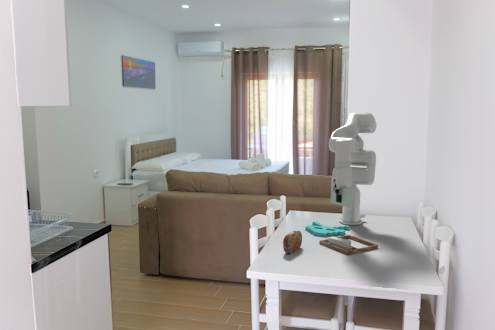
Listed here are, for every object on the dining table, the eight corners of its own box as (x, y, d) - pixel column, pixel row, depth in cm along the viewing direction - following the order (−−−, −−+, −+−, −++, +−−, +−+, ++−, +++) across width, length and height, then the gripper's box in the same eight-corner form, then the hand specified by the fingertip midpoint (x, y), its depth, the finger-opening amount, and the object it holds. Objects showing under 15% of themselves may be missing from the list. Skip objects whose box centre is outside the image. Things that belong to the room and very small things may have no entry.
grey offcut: (331, 241, 205) (331, 236, 204) (350, 245, 198) (351, 240, 198) (328, 242, 203) (328, 237, 202) (347, 247, 196) (347, 242, 196)
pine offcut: (333, 244, 206) (333, 240, 206) (352, 251, 197) (352, 247, 196) (328, 245, 205) (328, 241, 204) (347, 252, 195) (347, 248, 195)
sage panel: (334, 201, 219) (335, 184, 218) (352, 206, 209) (353, 188, 208) (330, 202, 217) (331, 185, 216) (348, 207, 207) (348, 189, 206)
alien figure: (313, 224, 241) (300, 234, 223) (313, 221, 240) (300, 230, 223) (349, 229, 232) (338, 239, 214) (349, 225, 231) (339, 235, 214)
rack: (348, 237, 216) (348, 234, 216) (377, 248, 200) (378, 244, 200) (319, 243, 206) (319, 240, 206) (347, 255, 190) (347, 251, 190)
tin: (288, 255, 189) (288, 237, 188) (281, 254, 191) (281, 236, 189) (302, 246, 202) (302, 229, 200) (296, 245, 203) (296, 228, 202)
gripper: (348, 162, 218) (347, 198, 220) (324, 165, 209) (323, 202, 212) (360, 164, 211) (358, 201, 214) (335, 167, 203) (334, 205, 205)
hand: (341, 201), depth 213 cm, fingers closed on sage panel, 3 cm apart
